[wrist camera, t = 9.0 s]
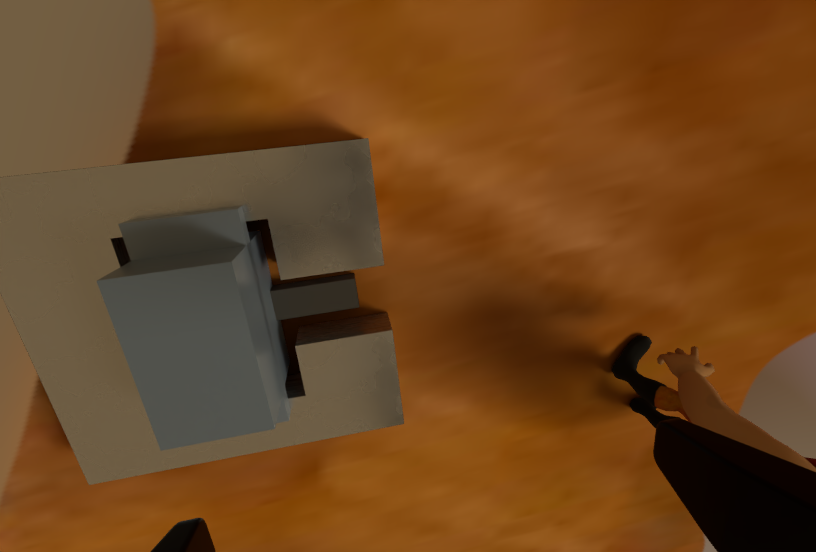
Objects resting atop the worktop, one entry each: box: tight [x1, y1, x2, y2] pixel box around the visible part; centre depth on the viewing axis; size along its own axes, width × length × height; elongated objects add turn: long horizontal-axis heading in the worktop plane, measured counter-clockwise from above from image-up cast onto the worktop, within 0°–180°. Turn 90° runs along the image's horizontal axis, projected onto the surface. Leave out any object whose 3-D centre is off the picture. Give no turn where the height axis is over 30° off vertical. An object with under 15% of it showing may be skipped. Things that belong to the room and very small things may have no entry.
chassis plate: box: [0, 138, 404, 485], centre depth 17 cm, size 14×13×2 cm
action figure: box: [612, 336, 816, 472], centre depth 16 cm, size 10×4×15 cm, turn 33°
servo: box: [97, 206, 359, 451], centre depth 16 cm, size 8×9×5 cm
